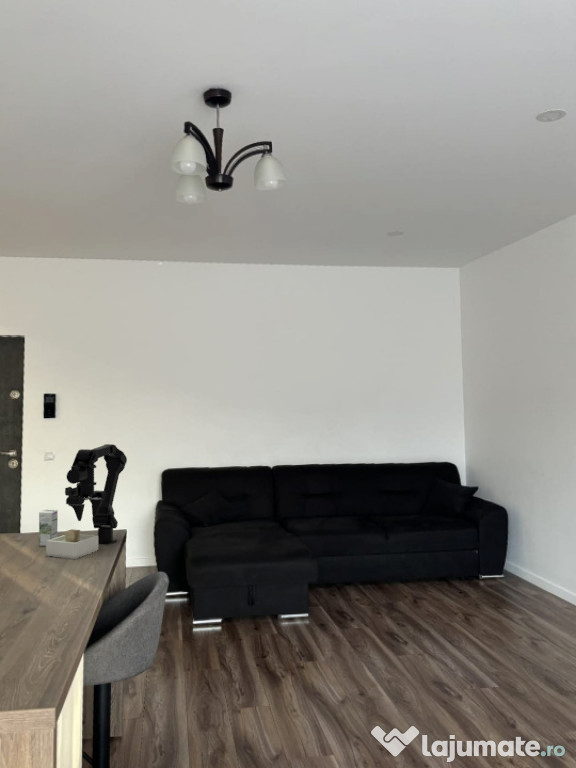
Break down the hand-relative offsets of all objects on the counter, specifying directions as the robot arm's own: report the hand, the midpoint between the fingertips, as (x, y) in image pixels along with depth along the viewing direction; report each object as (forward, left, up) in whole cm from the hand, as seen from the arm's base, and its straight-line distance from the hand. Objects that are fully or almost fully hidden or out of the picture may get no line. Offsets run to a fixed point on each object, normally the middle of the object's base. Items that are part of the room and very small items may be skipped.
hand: (86, 518), depth 256 cm
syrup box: (-3, -22, -13) cm, 26 cm away
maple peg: (+5, -3, -12) cm, 13 cm away
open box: (+5, -3, -13) cm, 14 cm away
